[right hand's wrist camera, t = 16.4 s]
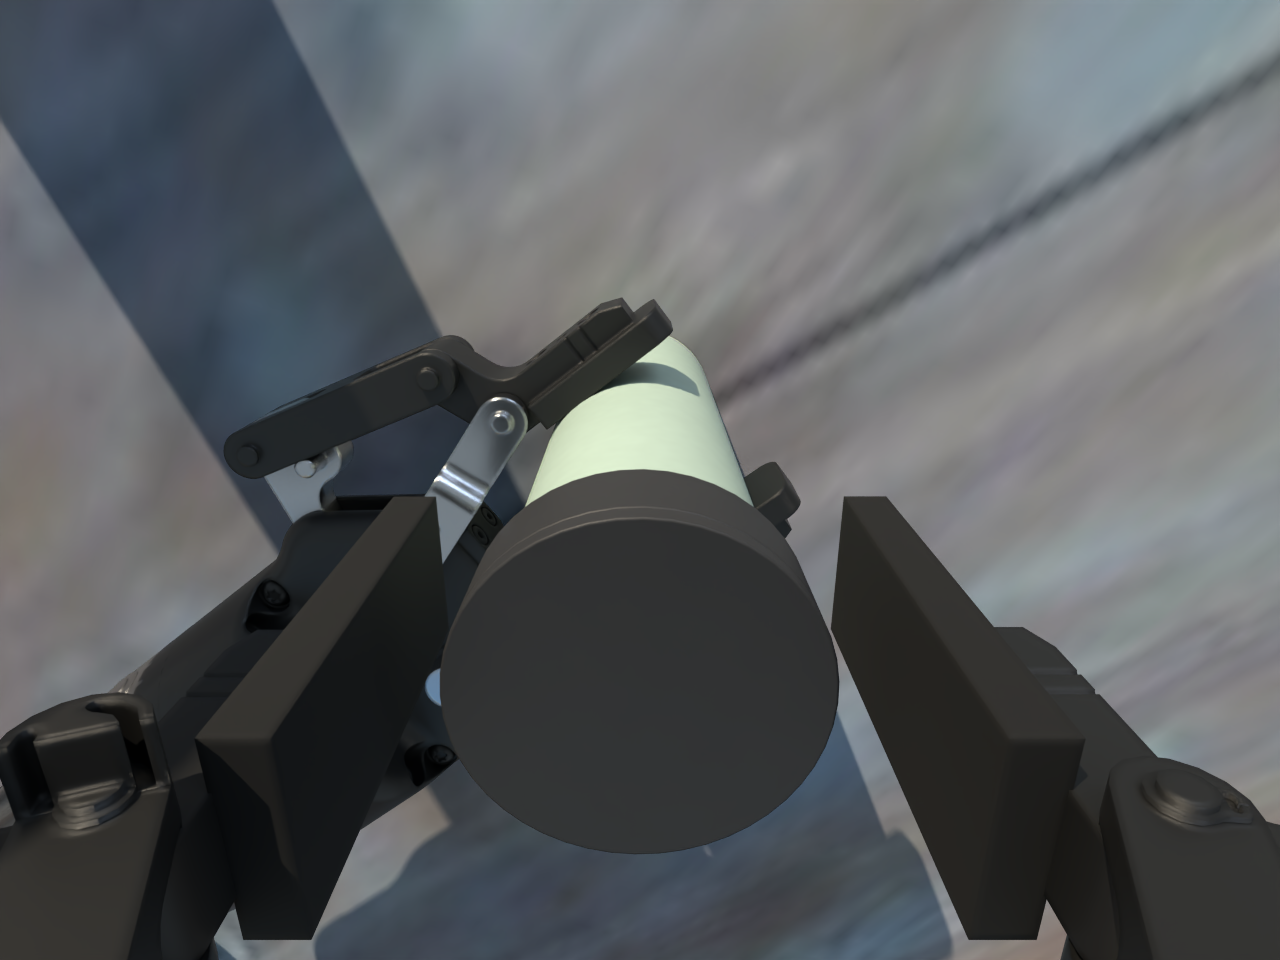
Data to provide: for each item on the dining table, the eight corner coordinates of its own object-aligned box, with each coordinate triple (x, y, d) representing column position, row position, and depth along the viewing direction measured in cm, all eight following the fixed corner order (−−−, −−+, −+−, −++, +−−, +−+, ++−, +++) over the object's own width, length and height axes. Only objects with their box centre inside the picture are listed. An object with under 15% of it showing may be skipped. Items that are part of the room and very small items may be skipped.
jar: (720, 447, 26) (825, 771, 12) (589, 477, 27) (527, 826, 12) (693, 314, 25) (773, 489, 10) (554, 347, 25) (430, 562, 10)
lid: (645, 392, 11) (646, 429, 9) (880, 634, 12) (920, 707, 10) (396, 624, 12) (355, 696, 10) (634, 820, 13) (633, 912, 12)
